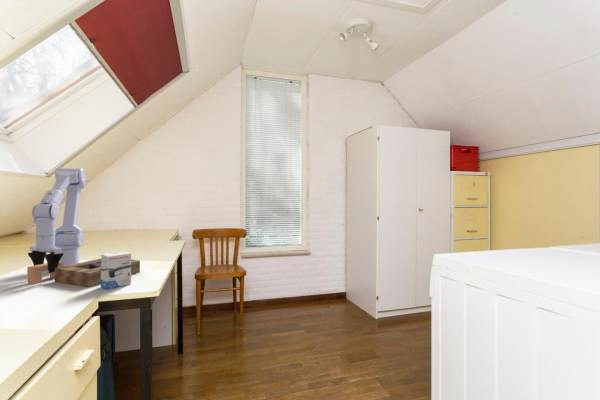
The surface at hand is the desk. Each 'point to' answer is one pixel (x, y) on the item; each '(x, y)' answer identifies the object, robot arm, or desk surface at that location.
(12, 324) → the desk surface
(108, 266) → the ink box
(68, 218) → the robot arm
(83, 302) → the desk surface
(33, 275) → the pink notched block
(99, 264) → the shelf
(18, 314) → the desk surface
